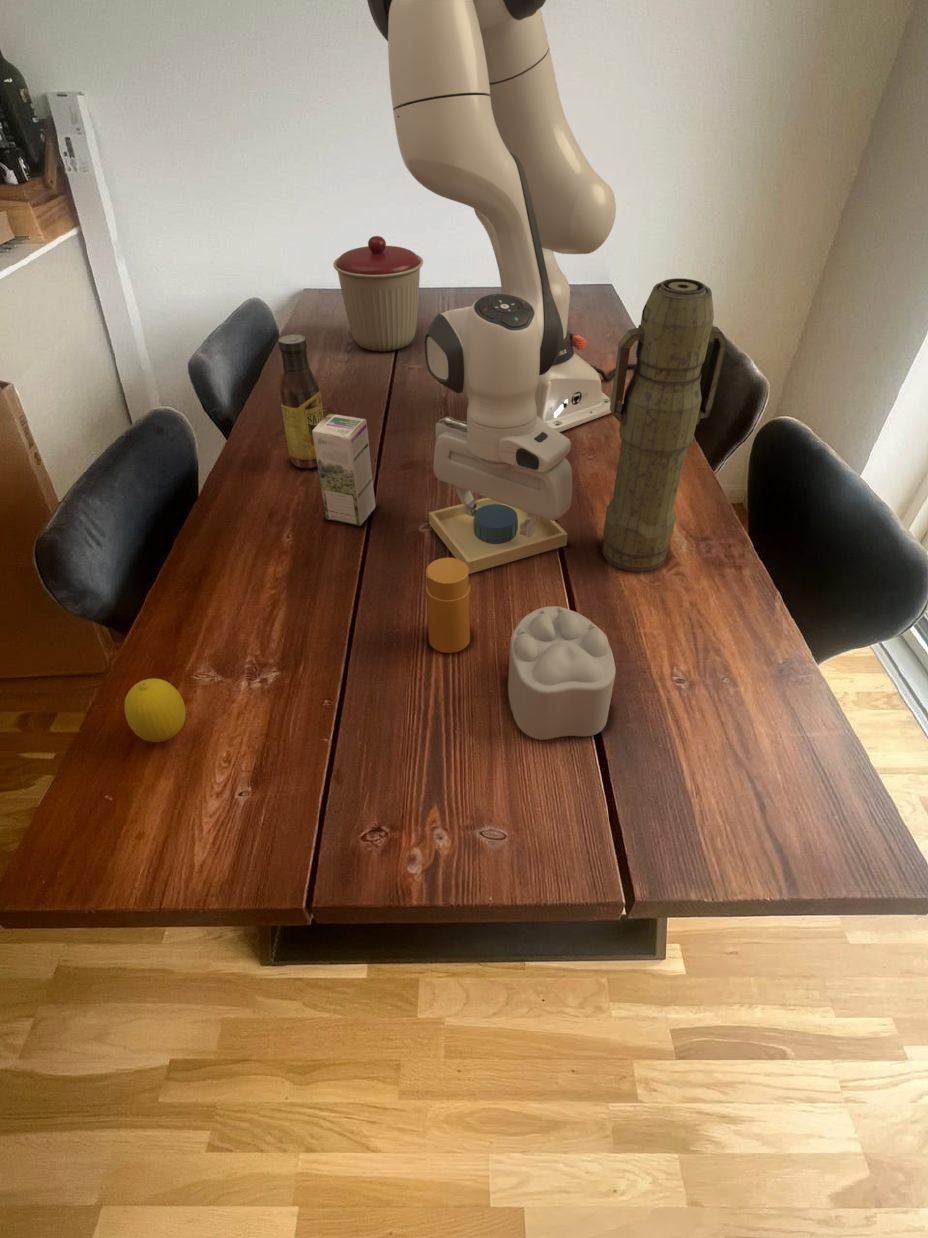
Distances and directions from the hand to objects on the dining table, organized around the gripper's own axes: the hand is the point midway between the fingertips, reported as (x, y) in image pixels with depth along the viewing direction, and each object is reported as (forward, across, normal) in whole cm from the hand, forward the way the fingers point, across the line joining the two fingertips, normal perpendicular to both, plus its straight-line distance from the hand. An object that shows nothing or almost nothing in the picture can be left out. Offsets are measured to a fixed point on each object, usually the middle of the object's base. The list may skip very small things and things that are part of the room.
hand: (498, 523), depth 103 cm
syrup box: (+2, -21, -8) cm, 22 cm away
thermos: (+2, +18, +7) cm, 19 cm away
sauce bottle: (+2, -37, 0) cm, 37 cm away
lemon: (+2, -9, -51) cm, 52 cm away
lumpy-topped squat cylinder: (+2, +22, -22) cm, 31 cm away
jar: (+2, +7, -22) cm, 23 cm away
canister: (+2, -59, +47) cm, 76 cm away
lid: (-1, 0, 0) cm, 1 cm away
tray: (+2, 0, 0) cm, 2 cm away
